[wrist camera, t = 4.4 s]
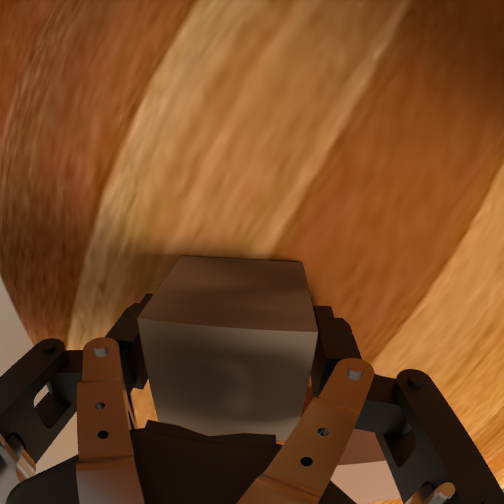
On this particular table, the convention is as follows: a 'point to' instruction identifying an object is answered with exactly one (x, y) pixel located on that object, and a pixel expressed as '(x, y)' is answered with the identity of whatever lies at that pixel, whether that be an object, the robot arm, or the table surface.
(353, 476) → the pink cube
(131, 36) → the table surface
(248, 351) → the walnut brick
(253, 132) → the table surface
